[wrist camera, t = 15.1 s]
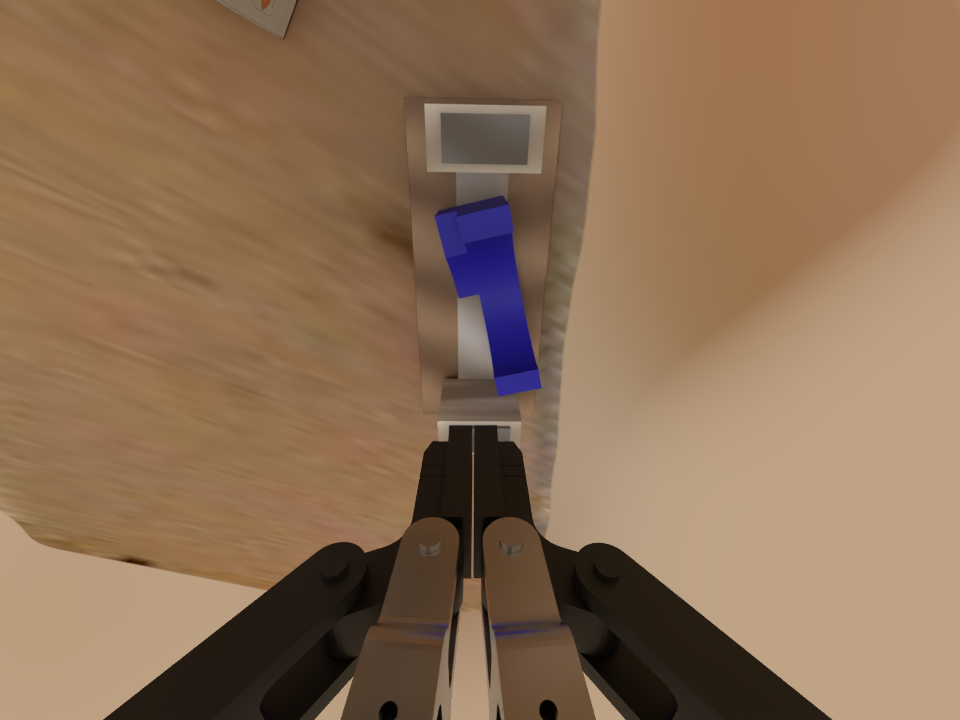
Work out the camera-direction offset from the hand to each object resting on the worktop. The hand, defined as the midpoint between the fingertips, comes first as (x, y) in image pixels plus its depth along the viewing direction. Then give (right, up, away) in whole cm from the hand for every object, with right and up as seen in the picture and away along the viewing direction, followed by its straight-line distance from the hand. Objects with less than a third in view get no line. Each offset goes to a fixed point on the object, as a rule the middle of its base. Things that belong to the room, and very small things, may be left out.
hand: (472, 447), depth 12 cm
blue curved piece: (+1, +8, +17) cm, 19 cm away
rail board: (0, +9, +19) cm, 21 cm away
